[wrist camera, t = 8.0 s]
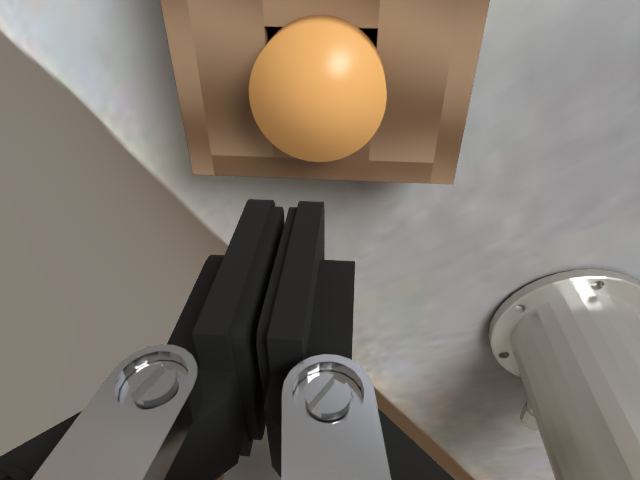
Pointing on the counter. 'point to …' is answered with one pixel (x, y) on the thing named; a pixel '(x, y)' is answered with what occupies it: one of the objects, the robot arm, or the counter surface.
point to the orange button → (318, 89)
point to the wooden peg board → (400, 75)
